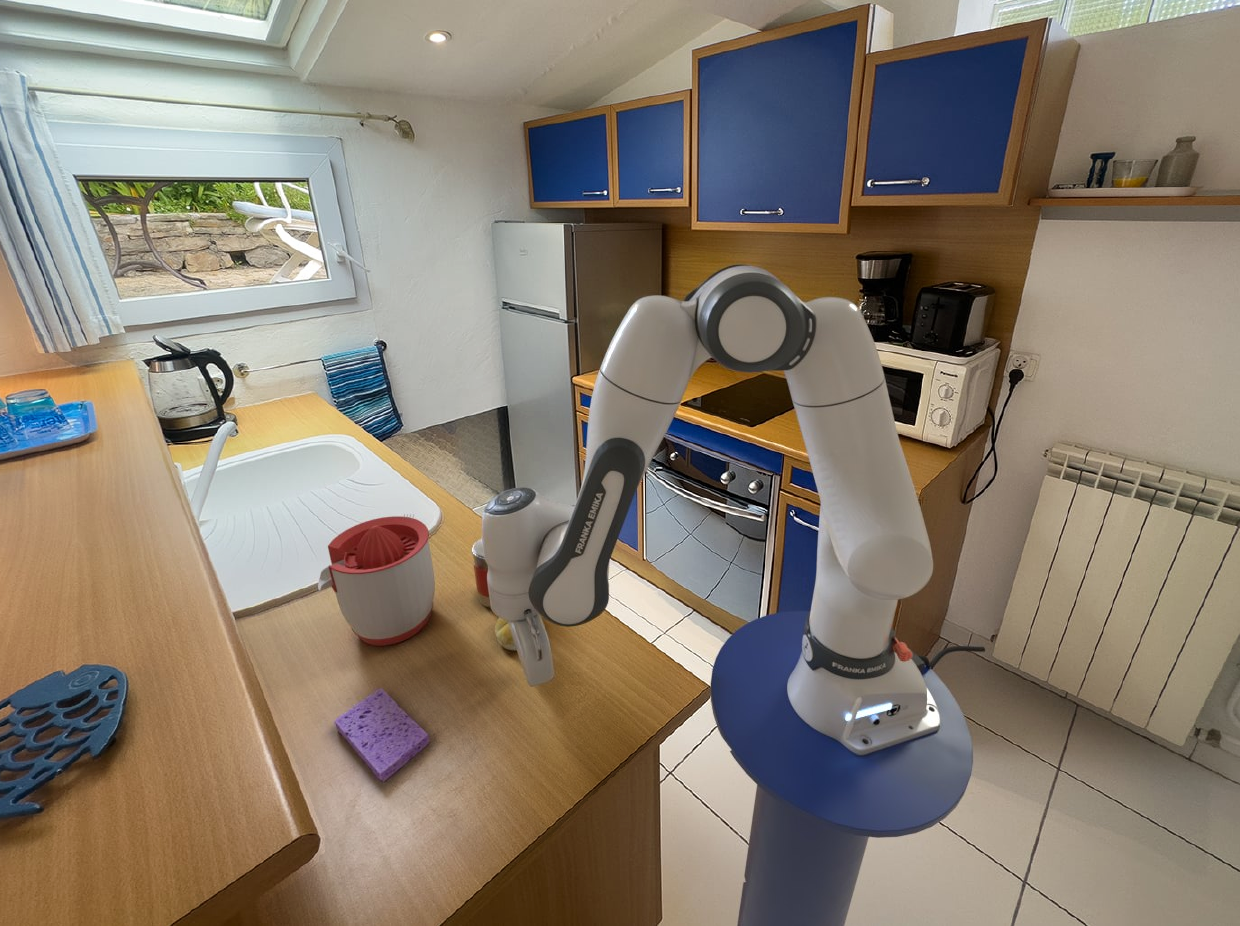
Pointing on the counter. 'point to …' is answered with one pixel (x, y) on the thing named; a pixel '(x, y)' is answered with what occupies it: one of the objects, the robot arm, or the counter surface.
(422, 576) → the citrus juicer
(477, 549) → the tin can
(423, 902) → the counter surface
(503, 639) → the bread roll
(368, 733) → the sponge
